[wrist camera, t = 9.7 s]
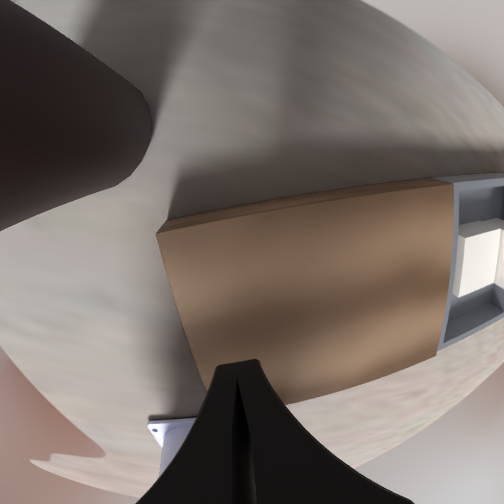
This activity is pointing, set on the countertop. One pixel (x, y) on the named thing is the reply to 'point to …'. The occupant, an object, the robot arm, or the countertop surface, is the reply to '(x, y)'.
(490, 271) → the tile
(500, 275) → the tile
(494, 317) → the box
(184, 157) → the countertop surface
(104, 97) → the bottle
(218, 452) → the robot arm
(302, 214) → the walnut board
